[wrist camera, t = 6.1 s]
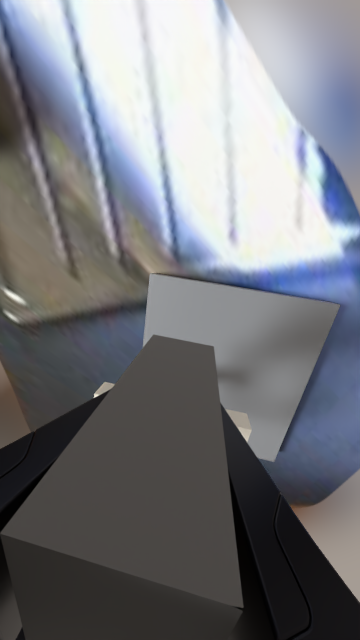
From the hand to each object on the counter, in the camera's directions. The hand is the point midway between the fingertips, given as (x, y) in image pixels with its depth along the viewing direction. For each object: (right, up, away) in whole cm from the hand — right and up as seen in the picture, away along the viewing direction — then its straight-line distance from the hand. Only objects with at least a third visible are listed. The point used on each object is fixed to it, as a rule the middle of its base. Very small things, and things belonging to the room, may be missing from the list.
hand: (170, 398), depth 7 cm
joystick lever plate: (0, -3, +3) cm, 4 cm away
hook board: (+5, -2, +13) cm, 14 cm away
